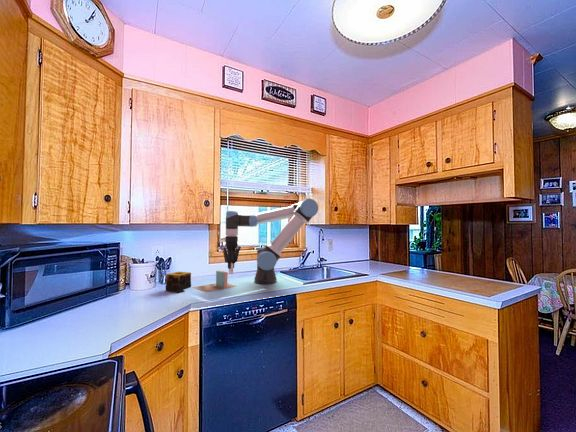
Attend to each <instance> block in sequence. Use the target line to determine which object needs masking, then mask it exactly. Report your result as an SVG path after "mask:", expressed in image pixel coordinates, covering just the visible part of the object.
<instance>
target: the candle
mask: <svg viewBox="0 0 576 432" xmlns="http://www.w3.org/2000/svg"><path fill="white" fill-rule="evenodd" d="M165 276H166V279H165V281H166V282H165V292H168V293H169V292H170V293H174V294H175V293H176V294H181V293H183V292H185V290H186V289H189V288H191V287H192V272H187V271H173V272H170V273H165Z"/></svg>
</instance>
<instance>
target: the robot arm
mask: <svg viewBox="0 0 576 432" xmlns="http://www.w3.org/2000/svg"><path fill="white" fill-rule="evenodd" d="M318 211H319V205H318V203H317V201H316V200H314V199H312V198H305V199H303V200H302V201H299V202H298V203H294V204H291V206H287V207H281V208H275V209H272V210H267V211H261V212H258V213H252V214H240V213H239V211H237V210H228V211H226V214H225V238H224V239H225V241H224V242H225V244H224V246H223V247H221V250H222V252H223V258H224V263H227V269H228V275H233V274H234V268H235V264H236V263H237V262H238V259H239V253H240V250H241V247H242V246H240V245H239V244H238V240H239V239H238V238H239V237H238V235H239V227H250V228H251V227H257V226H258V225H262V224H266V223H267V224H268V223H271V222H277V221H281V220H285V219H289V220H288V221H287V223H286V224H285V226H283V228H282V229H281V230H280V232H279V233H278V234H277V236H276V237H275V238H274V240H272V242H271V243H270V244H266V245H265V246H264V247H257V249H256V253H257V255H256V271H255V272H256V273H255V275H254V276H255V277H254V278H253V280H254V283H256V284H263V285H266V284H274V283H277V280H278V279H277V276H276V275H277V274H276V272H275V266H276V264H277V262H278V261H279V260H280V258H281V257H282V252H283V251H284V250H285V249H286V247H287V246H288V245H289V243H290V242H291V241H292V240H293V239H294V237H295V236H296V235H297V233H298V232H299V231H300V229H301V228H302V227H303V226H304V224H309V222H310V221H311V219H312V218H313V217H315V216H316V215H317V213H318Z"/></svg>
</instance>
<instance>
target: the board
mask: <svg viewBox="0 0 576 432" xmlns="http://www.w3.org/2000/svg"><path fill="white" fill-rule="evenodd" d="M191 287H192V286H191ZM192 288H193V289H196V290H198V291H201V292H204V293H206V294H207V293H212V292H216V291H221V290H225V289H230V288H237V285H235V284H232V283H228V282H227V288H222V287H219V286H216V282H215V283H209V284H204V285H199V286H193V287H192Z"/></svg>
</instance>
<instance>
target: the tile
mask: <svg viewBox="0 0 576 432" xmlns="http://www.w3.org/2000/svg"><path fill="white" fill-rule="evenodd" d="M215 272H216V273H215V283H216V286H219V287H222V288H227V283H228V275H229V271H228V272H227V271H223V270H216V271H215ZM227 289H228V288H227Z"/></svg>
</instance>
